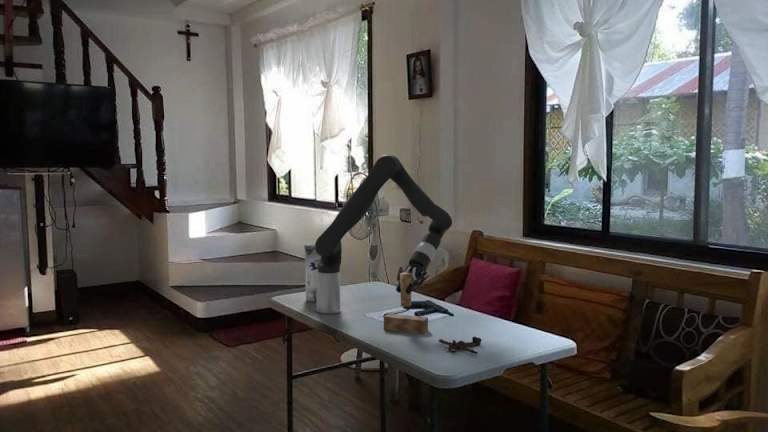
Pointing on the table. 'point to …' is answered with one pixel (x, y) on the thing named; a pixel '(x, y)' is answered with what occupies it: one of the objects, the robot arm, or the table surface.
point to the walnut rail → (406, 323)
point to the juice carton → (311, 272)
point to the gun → (428, 307)
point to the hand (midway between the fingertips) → (402, 292)
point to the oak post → (404, 281)
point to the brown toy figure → (462, 345)
